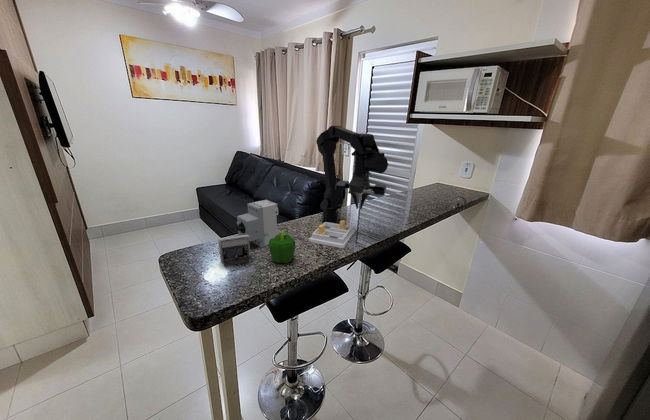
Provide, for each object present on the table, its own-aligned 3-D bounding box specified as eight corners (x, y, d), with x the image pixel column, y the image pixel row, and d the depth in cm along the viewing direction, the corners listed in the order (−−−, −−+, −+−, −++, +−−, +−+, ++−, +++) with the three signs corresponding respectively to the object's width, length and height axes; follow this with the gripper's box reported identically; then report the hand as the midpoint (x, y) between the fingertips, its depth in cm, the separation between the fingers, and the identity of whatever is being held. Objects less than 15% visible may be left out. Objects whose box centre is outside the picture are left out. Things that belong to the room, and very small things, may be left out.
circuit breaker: (235, 245, 92) (231, 207, 88) (268, 234, 102) (266, 199, 97) (245, 252, 87) (242, 212, 83) (279, 240, 97) (278, 203, 92)
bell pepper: (286, 269, 78) (285, 239, 75) (265, 262, 82) (263, 234, 78) (300, 257, 85) (300, 230, 82) (280, 251, 89) (279, 225, 86)
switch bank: (309, 241, 97) (309, 234, 96) (324, 227, 111) (324, 220, 110) (343, 248, 92) (344, 240, 91) (354, 232, 106) (355, 225, 105)
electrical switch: (250, 255, 86) (248, 231, 82) (252, 264, 81) (250, 239, 78) (220, 260, 82) (217, 236, 78) (221, 270, 78) (218, 244, 74)
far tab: (337, 231, 103) (337, 221, 102) (339, 229, 106) (340, 219, 104) (344, 233, 102) (344, 223, 101) (346, 230, 105) (347, 220, 103)
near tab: (316, 236, 98) (316, 226, 97) (319, 234, 101) (319, 223, 99) (323, 238, 97) (323, 227, 96) (326, 235, 100) (326, 225, 98)
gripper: (330, 170, 89) (329, 211, 94) (383, 174, 83) (379, 219, 88) (340, 166, 99) (338, 203, 104) (388, 169, 93) (384, 209, 98)
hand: (359, 208), depth 98 cm, fingers closed
